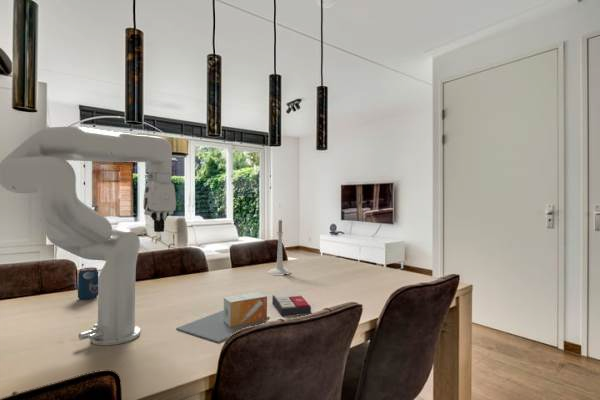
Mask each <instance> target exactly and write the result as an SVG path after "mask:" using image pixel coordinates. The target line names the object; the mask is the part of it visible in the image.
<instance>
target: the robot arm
mask: <svg viewBox="0 0 600 400" xmlns="http://www.w3.org/2000/svg"><path fill="white" fill-rule="evenodd" d="M172 147H173V146H172V144H171V143H170V142H169V141H168V139H165V138H163V137H159V136H152V135H141V134H134V133H133V134H131V133H124V132H118V131H117V132H116V131H115V132H114V131H108V130H100V129H95V128H89V127H82V126H71V125H70V126H50V127H44V128H41V129H39V130H37V131H35V132H34V133H33V134H31V135H29V137H28V138H27V139H26V140H25V141H22V143H20V144H19V145H18V146H17V147H16V148H15V149H14V150H12V151H11V152H10V153H9V154H8V155H6V156H5V157H4V158H3V159H2V160H1V161H0V186H1V187H2V189H5V190H7V191H8V192H12V193H15V194H16V193H17V194H39V213H40V214H39V215H40V217H41V219H42V220H43V222H44V223H45V225H44V232H45V236H46V238H47V239H48V241H49V242H50V243H51V244H53V245H54V246H56V247H57V248H60V249H62V250H64V251H65V252H68V253H70V254H73V255H75V256H77V257H79V258H81V259H85V260H89V261H90V260H91V261H103V262H104V265H103V267H101V269H100V272H99V273H98V296H97V299H98V300H97V323H95V324H93V327H92V328H90V330H85V331H83V332H82V331H81V332H79V333H78V340H79V341H84V340H86V339H88V340H90V341H91V343H93V345H98V346H114V345H119V344H120V345H121V344H124V343H128V342H130V341H133V340H134V339H136V338H138V337H139V336H140V335H141V327H139V326H137V325H135V323H136V320H135V319H136V316H135V315H136V272H137V271H136V269H137V262H138V256H139V251H140V246H141V242H140V241H141V240H140V238H139V236H138V234H137V233H136V232H134V231H133V230H131V229H127V228H123V227H122V228H121V227H120V228H119V227H118V228H117V227H112V224H111V222H110V221H109V220H108V219H107V217H105V216H103V215H102V214H101V213H99V212H97V211H96V210H95V209H93V208H91V207H89V206H88V205H87V204H85V203H84V202H83V201H82V200H80V199H79V198H78V196H77V184H76V183H77V182H76V181H77V176H76V172H75V170H74V168H73V166H72V165H71V164H70V163H69V162H68V161H76V162H77V161H78V162H81V161H82V162H99V163H100V162H102V163H103V162H104V163H105V162H106V163H129V162H136V163H147V166H148V167H147V174H145V179H147V182H146V183H145V188H144V193H143V203H142V204H143V210H144V212H143V213H144V215H145V216H149V217H150V218H152V220H153V230H154V232H156V233H163V232H164V231H165V221H166V220H167V218H168V216H171V215H173V214H174V211H176V208H177V200H176V189H175V185H174V183H172V170H173V169H172V167H173V166H172V161H173V156H172V155H173V154H172V153H173V148H172Z"/></svg>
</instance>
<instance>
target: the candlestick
mask: <svg viewBox="0 0 600 400" xmlns="http://www.w3.org/2000/svg"><path fill="white" fill-rule="evenodd" d="M277 230H278V231H276V233H277V237H278V241H277V251H276V253H277V254H276V257H277V258H276V267H274V268H272V269H270V270H268V272H267V273H270V274H287V273H290V272H291V270H290V269H287V268H285V267H284V264H283V263H284V262H283V259H284V258H283V238H282V237H283V234H284V231H283V220H282V219H280V220H278V229H277ZM291 273H292V272H291ZM270 274H269V275H270Z"/></svg>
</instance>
